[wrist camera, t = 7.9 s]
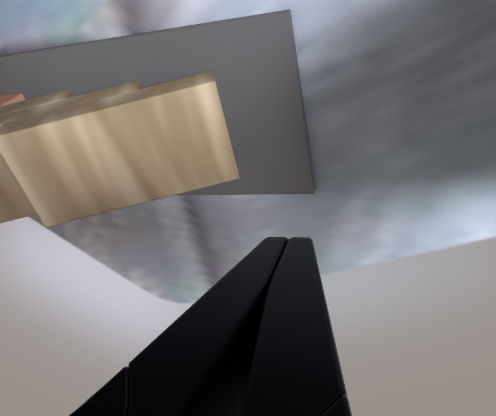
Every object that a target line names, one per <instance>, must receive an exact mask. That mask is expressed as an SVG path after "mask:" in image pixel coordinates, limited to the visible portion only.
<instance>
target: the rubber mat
mask: <svg viewBox="0 0 496 416" xmlns="http://www.w3.org/2000/svg"><path fill="white" fill-rule="evenodd" d="M210 71H213V74H214V78H215V82H216V86H217V90H218V94H219V98H220V102H221V106H222V109H223V113H224V117H225V121H226V125H227V129H228V133H229V137H230V141H231V145H232V149H233V153H234V156H235V160H236V164H237V168H238V173H239V177H240V178H239V179H235V180H231V181H227V182H223V183H219V184H215V185H211V186H207V187H203V188H199V189H195V190H191V191H188V192H184V193H180V194H176V195H238V194H314V191H315V186H314V179H313V172H312V165H311V157H310V150H309V143H308V135H307V128H306V121H305V114H304V106H303V99H302V92H301V85H300V77H299V70H298V63H297V55H296V48H295V41H294V34H293V26H292V19H291V12H290V10H284V11H278V12H271V13H265V14H259V15H253V16H246V17H240V18H234V19H227V20H221V21H215V22H209V23H202V24H196V25H190V26H184V27H177V28H171V29H165V30H159V31H152V32H146V33H140V34H134V35H127V36H121V37H115V38H108V39H102V40H96V41H90V42H83V43H77V44H71V45H65V46H58V47H52V48H46V49H40V50H33V51H27V52H21V53H15V54H8V55H2V56H0V93H1V95H10V94H21V93H22V94H23V96H24V98H25V100H27V99H31V98H35V97H39V96H43V95H47V94H51V93H55V92H59V91H63V90H67V89H71V88H72V90H73V93H74V95H75V96H78V95H82V94H86V93H90V92H94V91H98V90H102V89H106V88H110V87H114V86H118V85H122V84H126V83H130V82H134V81H138V80H139V81H140V83H141V86H142V89H143V88H147V87H150V86H154V85H158V84H162V83H166V82H170V81H174V80H178V79H182V78H186V77H190V76H194V75H198V74H202V73H206V72H210Z"/></svg>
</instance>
